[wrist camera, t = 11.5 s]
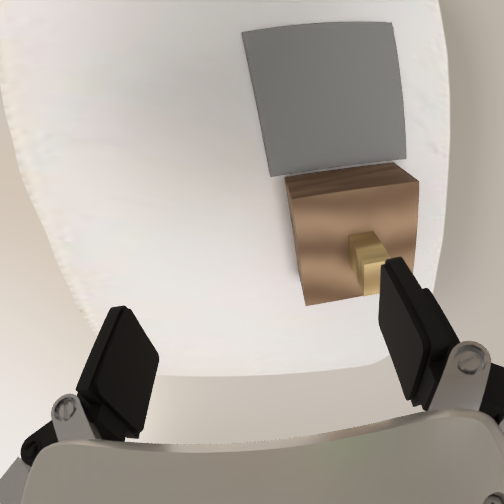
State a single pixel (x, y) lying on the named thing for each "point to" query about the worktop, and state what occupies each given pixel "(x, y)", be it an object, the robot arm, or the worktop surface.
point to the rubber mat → (327, 94)
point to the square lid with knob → (351, 228)
